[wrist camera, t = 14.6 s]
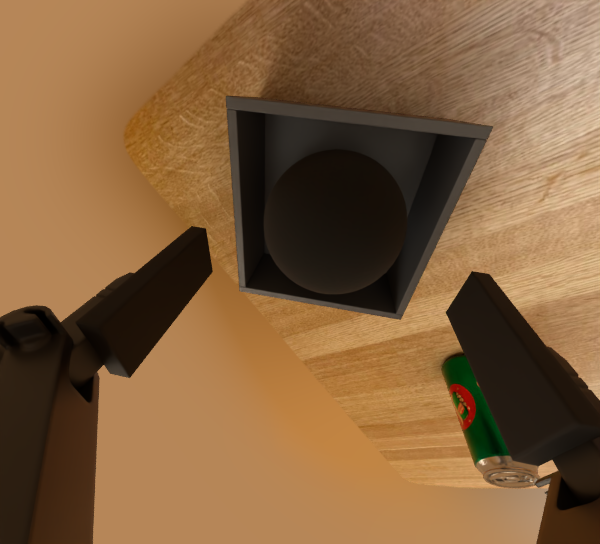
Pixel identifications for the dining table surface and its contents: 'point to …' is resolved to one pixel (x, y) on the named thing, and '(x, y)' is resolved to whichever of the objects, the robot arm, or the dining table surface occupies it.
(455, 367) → the soda can
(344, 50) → the dining table surface
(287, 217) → the decorative ball
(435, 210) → the grey bin
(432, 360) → the dining table surface
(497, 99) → the dining table surface
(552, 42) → the dining table surface
